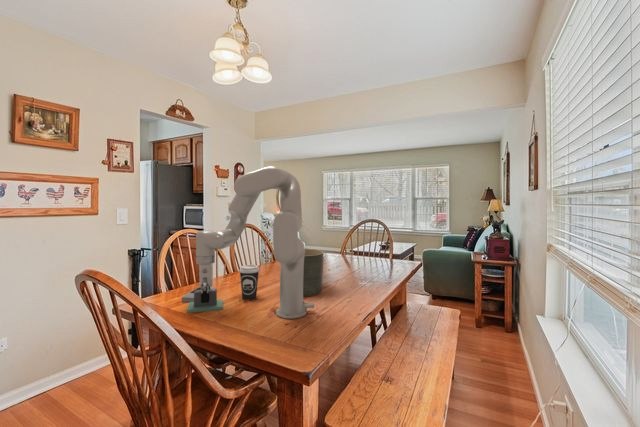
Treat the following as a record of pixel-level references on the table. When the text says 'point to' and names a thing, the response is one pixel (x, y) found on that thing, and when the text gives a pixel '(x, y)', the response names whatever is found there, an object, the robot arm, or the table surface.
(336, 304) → the table surface
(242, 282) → the coffee cup
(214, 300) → the block
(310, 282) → the planter
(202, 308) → the board
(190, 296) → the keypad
